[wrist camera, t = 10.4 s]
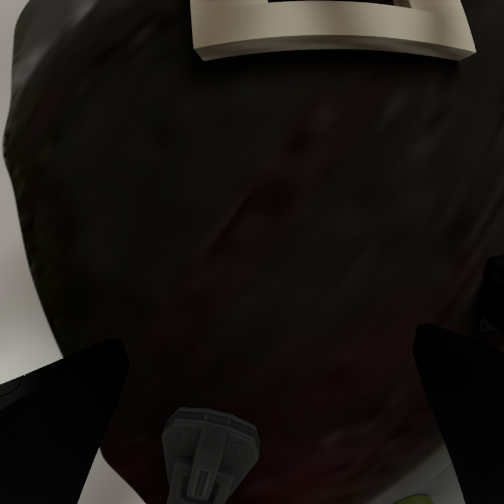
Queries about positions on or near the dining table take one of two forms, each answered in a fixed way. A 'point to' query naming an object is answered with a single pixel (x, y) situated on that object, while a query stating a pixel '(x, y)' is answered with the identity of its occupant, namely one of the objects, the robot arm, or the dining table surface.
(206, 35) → the cutout board
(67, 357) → the robot arm
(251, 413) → the dining table surface
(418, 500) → the plant pot
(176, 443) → the zipper pull
